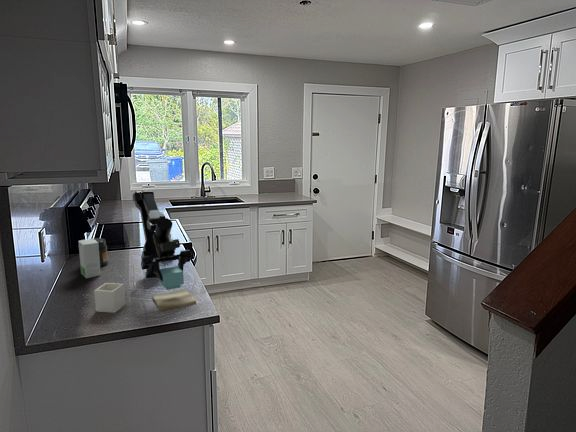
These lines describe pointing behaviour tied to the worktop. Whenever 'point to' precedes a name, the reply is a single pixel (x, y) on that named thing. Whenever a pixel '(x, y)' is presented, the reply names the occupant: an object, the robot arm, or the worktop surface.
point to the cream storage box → (109, 297)
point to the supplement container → (102, 251)
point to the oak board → (173, 299)
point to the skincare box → (89, 258)
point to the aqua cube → (172, 277)
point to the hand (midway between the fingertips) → (172, 278)
